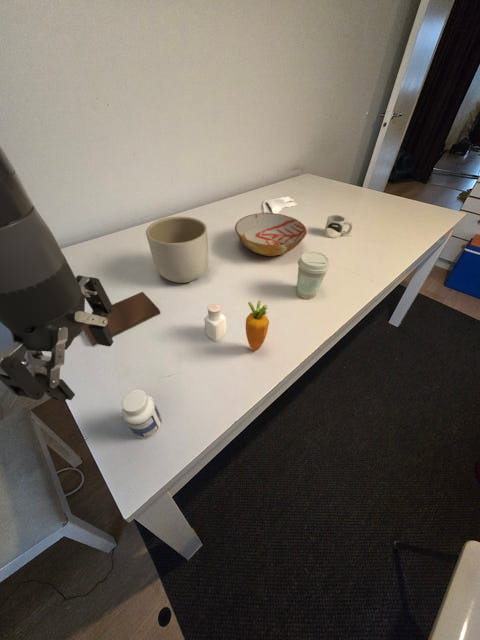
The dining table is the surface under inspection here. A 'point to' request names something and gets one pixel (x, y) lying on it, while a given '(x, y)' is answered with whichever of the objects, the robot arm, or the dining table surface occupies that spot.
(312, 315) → the dining table surface
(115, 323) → the board
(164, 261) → the planter
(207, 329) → the pepper shaker
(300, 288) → the coffee cup
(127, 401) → the pill bottle
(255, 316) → the carrot
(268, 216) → the bowl
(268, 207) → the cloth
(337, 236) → the mug
